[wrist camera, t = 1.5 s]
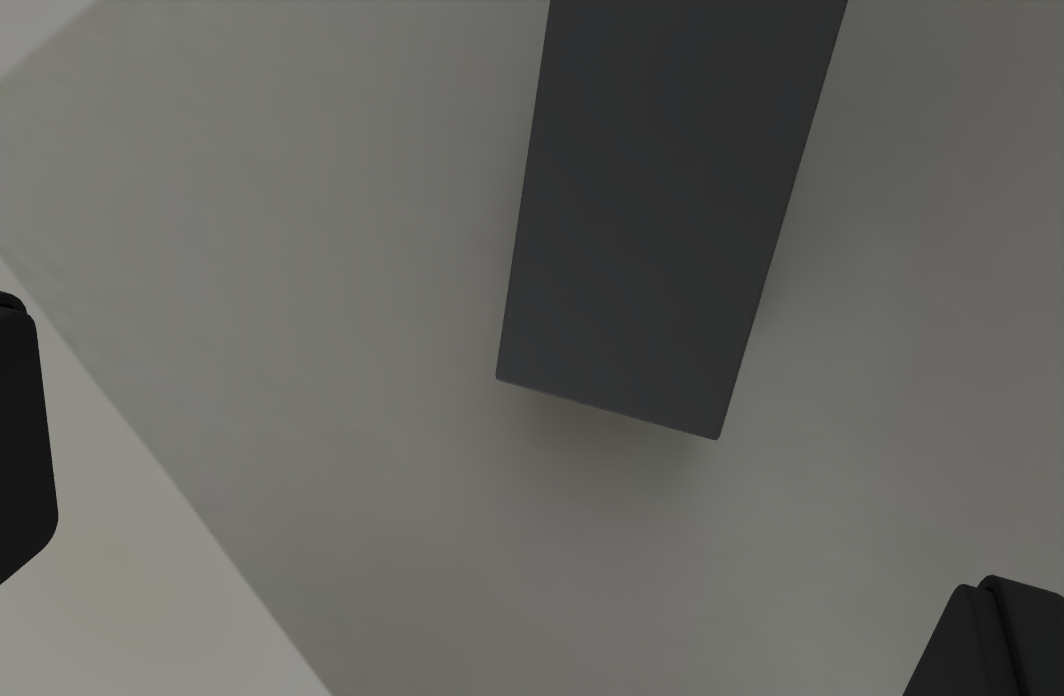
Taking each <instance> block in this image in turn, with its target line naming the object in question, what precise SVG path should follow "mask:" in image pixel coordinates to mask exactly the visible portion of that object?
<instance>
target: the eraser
mask: <svg viewBox="0 0 1064 696" xmlns="http://www.w3.org/2000/svg"><path fill="white" fill-rule="evenodd" d="M847 2H848V0H550V5H549V12H548V19H547V26H546V33H545V40H544V46H543V53H542V60H541V67H540V74H539V81H538V88H537V94H536V101H535V108H534V115H533V122H532V129H531V136H530V142H529V149H528V156H527V163H526V170H525V177H524V184H523V190H522V197H521V204H520V211H519V218H518V225H517V232H516V238H515V245H514V252H513V259H512V266H511V273H510V280H509V286H508V293H507V300H506V307H505V314H504V321H503V328H502V334H501V341H500V348H499V355H498V362H497V369H496V379H497V380H499V381H502V382H506V383H509V384H513V385H517V386H520V387H524V388H528V389H531V390H535V391H538V392H542V393H546V394H549V395H553V396H557V397H560V398H564V399H567V400H571V401H575V402H578V403H582V404H585V405H589V406H593V407H596V408H600V409H604V410H607V411H611V412H614V413H618V414H622V415H625V416H629V417H633V418H636V419H640V420H643V421H647V422H651V423H654V424H658V425H662V426H665V427H669V428H672V429H676V430H680V431H683V432H687V433H690V434H694V435H698V436H701V437H705V438H709V439H712V440H717V439H718V438H719V437H720V434H721V430H722V427H723V423H724V420H725V417H726V413H727V410H728V406H729V403H730V400H731V396H732V393H733V389H734V386H735V383H736V379H737V376H738V372H739V369H740V366H741V362H742V359H743V355H744V352H745V349H746V345H747V342H748V338H749V335H750V332H751V328H752V325H753V321H754V318H755V315H756V311H757V308H758V304H759V301H760V298H761V294H762V291H763V287H764V284H765V281H766V277H767V274H768V270H769V267H770V264H771V260H772V257H773V253H774V250H775V247H776V243H777V240H778V236H779V233H780V230H781V226H782V223H783V219H784V216H785V213H786V209H787V206H788V202H789V199H790V196H791V192H792V189H793V185H794V182H795V178H796V175H797V172H798V168H799V165H800V161H801V158H802V155H803V151H804V148H805V144H806V141H807V138H808V134H809V131H810V127H811V124H812V121H813V117H814V114H815V110H816V107H817V104H818V100H819V97H820V93H821V90H822V87H823V83H824V80H825V76H826V73H827V70H828V66H829V63H830V59H831V56H832V53H833V49H834V46H835V42H836V39H837V36H838V32H839V29H840V25H841V22H842V19H843V15H844V12H845V8H846V5H847Z"/></svg>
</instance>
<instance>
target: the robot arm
mask: <svg viewBox="0 0 1064 696" xmlns="http://www.w3.org/2000/svg"><path fill="white" fill-rule="evenodd" d="M57 523H58V507H57V499H56V490H55V482H54V474H53V467H52V457H51V449H50V441H49V432H48V423H47V415H46V407H45V399H44V391H43V381H42V373H41V365H40V356H39V349H38V339H37V331H36V326H35V323H34V320H33V319H32V318H31V316H30V315H28V314H27V311H26V308H25V306H24V304H23V303H22V301H21V300H20V299H19V298H17V297H15V296H14V295H12V294H9V293H5V292H2V291H0V585H1V584H2V583H3V582H4V581H6V580H7V579H8V578H9V577H10V576H12V575H13V574H14V573H15V572H16V571H18V570H19V569H20V568H21V567H22V566H23V565H25V564H26V563H27V562H28V561H29V560H31V559H32V558H33V557H34V556H35V555H37V554H38V553H39V552H40V551H41V550H42V549H43V548H44V547H45V546H46V545H47V544H48V543H49V541H50V540H51V538H52V537H53V535H54V532H55V530H56V527H57ZM903 696H1064V597H1062V596H1061V595H1059V594H1058V593H1054V592H1051V591H1047V590H1044V589H1040V588H1037V587H1033V586H1030V585H1026V584H1023V583H1019V582H1016V581H1012V580H1009V579H1005V578H1002V577H998V576H995V575H990V576H986V577H985V578H984V579H983V580H982V581H981V582H980V583H979V585H978V587H977V588H976V587H973V586H969V585H966V584H961V585H959V586H958V587H957V588H956V589H955V590H954V592H953V594H952V595H951V597H950V599H949V601H948V603H947V605H946V607H945V609H944V612H943V614H942V616H941V618H940V620H939V622H938V624H937V626H936V628H935V630H934V632H933V634H932V636H931V638H930V640H929V642H928V644H927V646H926V648H925V650H924V653H923V655H922V657H921V659H920V661H919V663H918V665H917V667H916V669H915V671H914V673H913V675H912V677H911V679H910V681H909V683H908V685H907V687H906V689H905V692H904V694H903Z"/></svg>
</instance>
